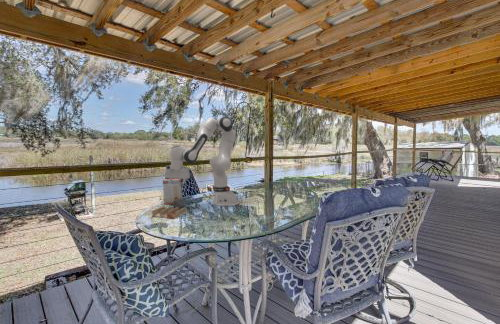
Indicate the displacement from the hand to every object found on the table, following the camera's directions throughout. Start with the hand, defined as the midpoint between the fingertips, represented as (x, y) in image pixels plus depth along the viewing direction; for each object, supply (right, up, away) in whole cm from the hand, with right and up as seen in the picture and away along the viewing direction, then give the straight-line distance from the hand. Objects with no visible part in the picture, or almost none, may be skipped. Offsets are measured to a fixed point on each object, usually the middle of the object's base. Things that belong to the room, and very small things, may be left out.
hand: (177, 184), depth 220 cm
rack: (-2, -21, -16) cm, 27 cm away
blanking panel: (0, -19, +2) cm, 19 cm away
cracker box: (-8, -18, +17) cm, 26 cm away
